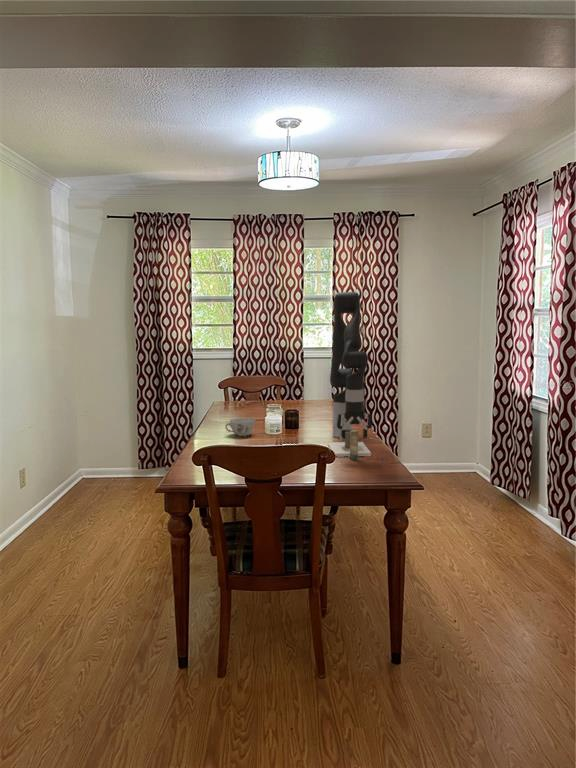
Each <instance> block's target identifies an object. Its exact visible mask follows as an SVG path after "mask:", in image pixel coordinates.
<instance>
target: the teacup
mask: <svg viewBox="0 0 576 768" xmlns="http://www.w3.org/2000/svg"><path fill="white" fill-rule="evenodd" d="M255 424H256V419H255V418H251V417H237V418H236V417H235V418H232V419H230V420H229V422H227V423H226V424H225V431H227V432H229V433H233V434H235V435H236V436H237V435H238V436H237V437H241V436H244V437H248V436H249V435H250V434H251V433H252V431H253V430H254V428H255ZM228 426H229V427H230V429H228ZM247 435H248V436H247Z"/></svg>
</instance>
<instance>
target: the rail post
mask: <svg viewBox="0 0 576 768" xmlns="http://www.w3.org/2000/svg"><path fill="white" fill-rule="evenodd" d="M358 442H359V431H358V430H357V429H356V430H351V431H350V457H349V459H351V461H358V460H359V457H358ZM357 459H358V460H357Z"/></svg>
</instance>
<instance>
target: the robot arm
mask: <svg viewBox="0 0 576 768" xmlns="http://www.w3.org/2000/svg"><path fill="white" fill-rule="evenodd" d="M342 314H352V316H351V318H350V320H349V321H348V323H347V324H346V323H345V321H344V319H343V316H342ZM333 317H334V319H333V332H332V333H333V334H332V335H333V336H332V351H331V352H332V354H331V355H332V356H331V357H332V359H331V367H330V373H329V382H330V386H331V387H332V388H340V389H341V388H345V389H344V390H343V391H341V392H339V393H336V394H334V395H333V397H332V437H335V438H339V429H341V436H342V438H343V439H345V429H353V425H361V426H362V427H363V429H362V437H363V439H366V438H367V437H368V430H369V429H372V427H373V425H372V422H373V420H372V414H371V413H370V412H368V413H365V412H364V411H365V410H364V407H365V405H364V402H365V401H364V400H365V395H364V394H365V393H364V377H365V374H366V373H365V371H366V369H367V365H368V361H369V355H368V354H367V353H366V351H360V350H361V348H362V339H361V337H362V336H361V327H360V326H361V300H360V295H359V293H358V292H355V291H344V292H343V291H342V292H336V293H335V295H334V299H333ZM341 365H342V366H343V368H340V366H341ZM352 369H357V371H356V372H355V373H354V372H353V370H352ZM365 418H366V420H367V425H366V423H365V422H364V421H363V420H364V419H365ZM339 439H340V438H339Z"/></svg>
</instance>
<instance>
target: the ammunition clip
mask: <svg viewBox="0 0 576 768" xmlns="http://www.w3.org/2000/svg"><path fill="white" fill-rule="evenodd" d="M283 444H286V445H287V444H290V445H291V444H294V445H295V444H298V445H299V439H298V436H297V435H296V436H295V439H294V437H293V436H292V437H291V439H290V437H289V436H288V437H287V439H286V437H284V438H283V439H282V438H281V437H280V438H279V440H278V438H276V439H275V444H274V446H275V445H278V446H279V445H282V446H283Z"/></svg>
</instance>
